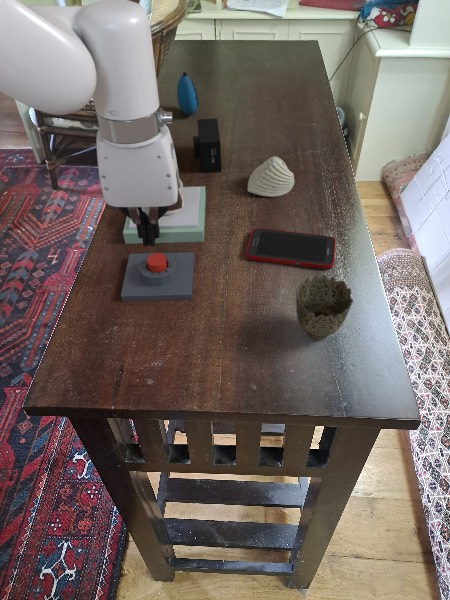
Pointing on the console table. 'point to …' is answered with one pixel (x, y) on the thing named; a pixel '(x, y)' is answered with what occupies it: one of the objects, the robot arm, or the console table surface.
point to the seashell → (271, 179)
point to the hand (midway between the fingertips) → (150, 240)
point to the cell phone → (291, 248)
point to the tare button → (156, 262)
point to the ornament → (187, 95)
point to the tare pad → (159, 278)
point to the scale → (177, 221)
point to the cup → (322, 305)
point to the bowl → (181, 197)
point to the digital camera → (208, 145)
